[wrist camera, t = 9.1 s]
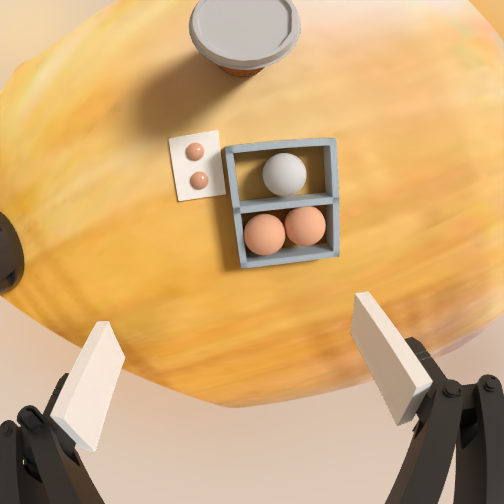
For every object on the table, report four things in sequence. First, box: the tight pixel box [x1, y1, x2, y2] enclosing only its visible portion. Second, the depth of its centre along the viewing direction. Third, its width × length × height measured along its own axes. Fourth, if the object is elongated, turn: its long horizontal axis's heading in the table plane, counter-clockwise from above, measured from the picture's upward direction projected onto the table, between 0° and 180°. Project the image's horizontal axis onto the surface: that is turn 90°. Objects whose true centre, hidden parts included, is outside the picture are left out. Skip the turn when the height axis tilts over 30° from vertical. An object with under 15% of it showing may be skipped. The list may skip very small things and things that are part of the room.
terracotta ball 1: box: [244, 214, 285, 255], centre depth 34 cm, size 5×5×5 cm
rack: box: [225, 138, 340, 269], centre depth 34 cm, size 13×15×3 cm
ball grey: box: [263, 153, 306, 196], centre depth 32 cm, size 5×5×5 cm
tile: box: [169, 130, 226, 201], centre depth 33 cm, size 6×8×1 cm
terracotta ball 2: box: [284, 206, 326, 246], centre depth 34 cm, size 5×5×5 cm
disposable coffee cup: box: [189, 0, 301, 77], centre depth 22 cm, size 10×10×12 cm
